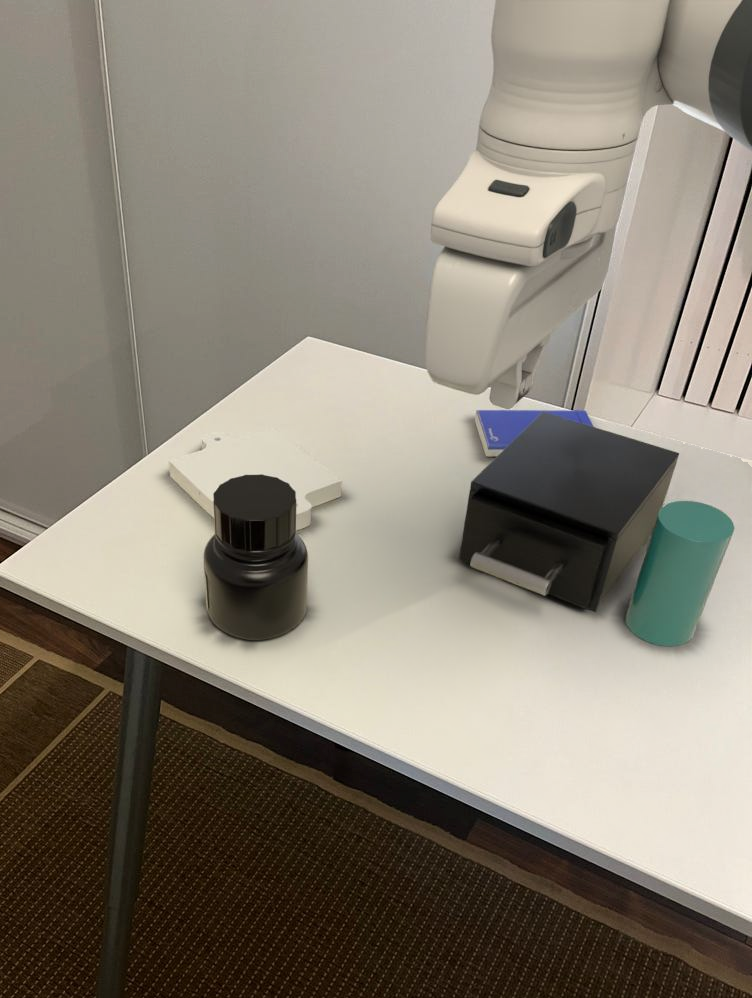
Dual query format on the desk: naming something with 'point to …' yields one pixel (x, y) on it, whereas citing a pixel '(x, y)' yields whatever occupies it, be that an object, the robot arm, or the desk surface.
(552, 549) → the drawer
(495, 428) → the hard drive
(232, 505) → the ink bottle
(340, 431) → the desk surface
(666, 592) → the teal cylinder
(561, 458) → the cabinet
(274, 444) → the mounting plate
